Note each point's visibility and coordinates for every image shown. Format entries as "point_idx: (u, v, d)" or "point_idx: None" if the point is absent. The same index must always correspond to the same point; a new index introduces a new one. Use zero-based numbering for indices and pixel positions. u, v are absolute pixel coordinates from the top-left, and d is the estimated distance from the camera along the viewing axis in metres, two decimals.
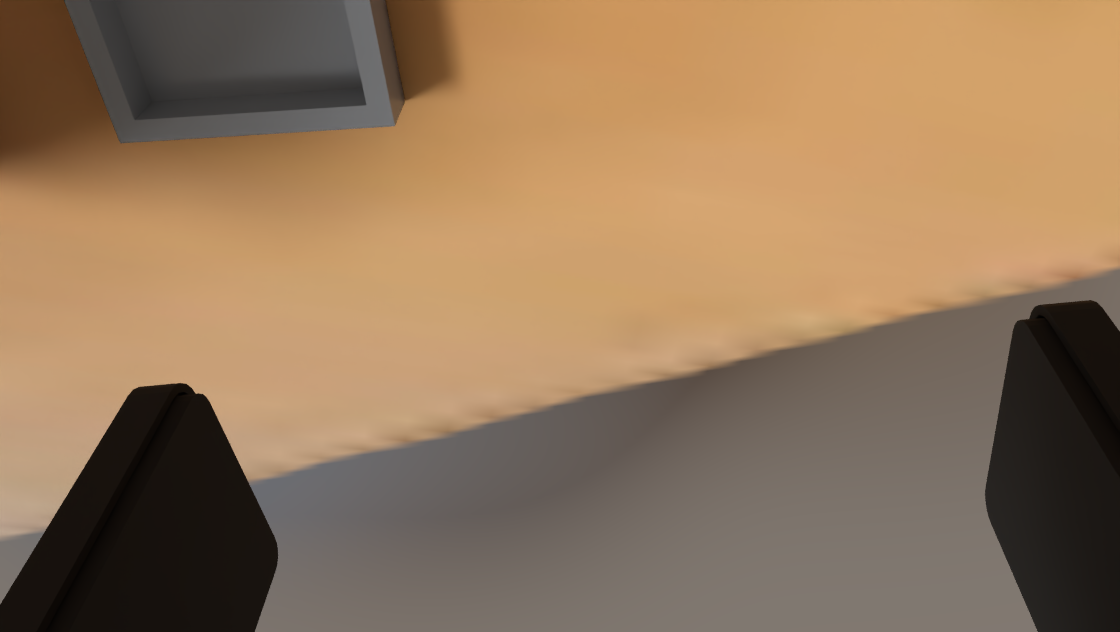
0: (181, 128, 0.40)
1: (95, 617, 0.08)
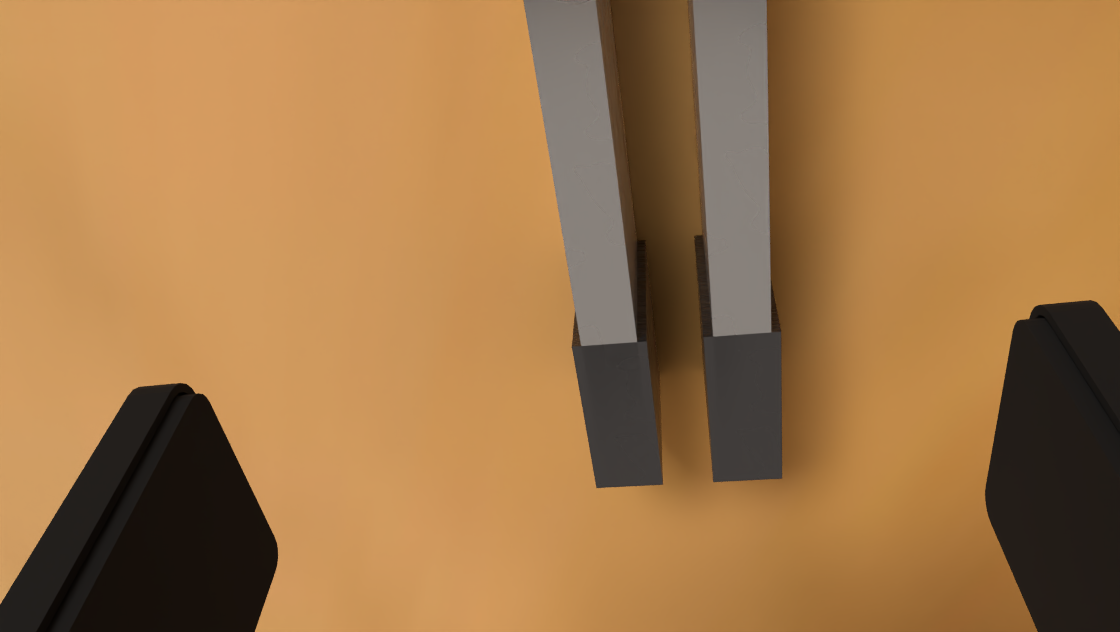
0: None
1: (94, 618, 0.08)
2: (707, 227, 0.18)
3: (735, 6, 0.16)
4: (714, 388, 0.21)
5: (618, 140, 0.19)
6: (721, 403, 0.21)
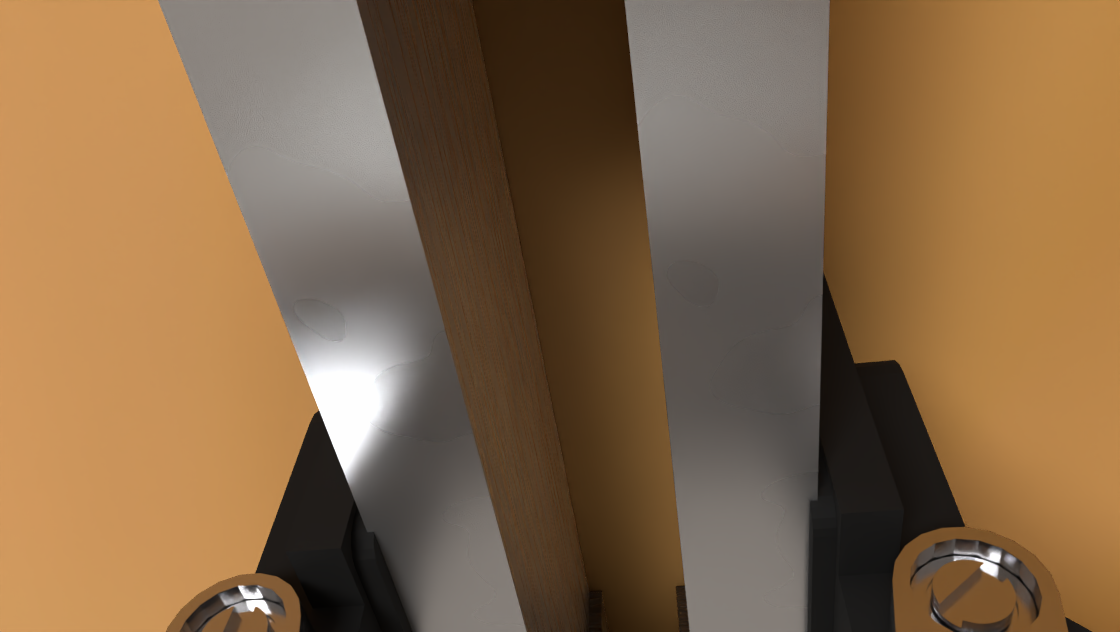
0: None
1: None
2: None
3: (755, 447, 0.08)
4: None
5: (544, 553, 0.11)
6: None
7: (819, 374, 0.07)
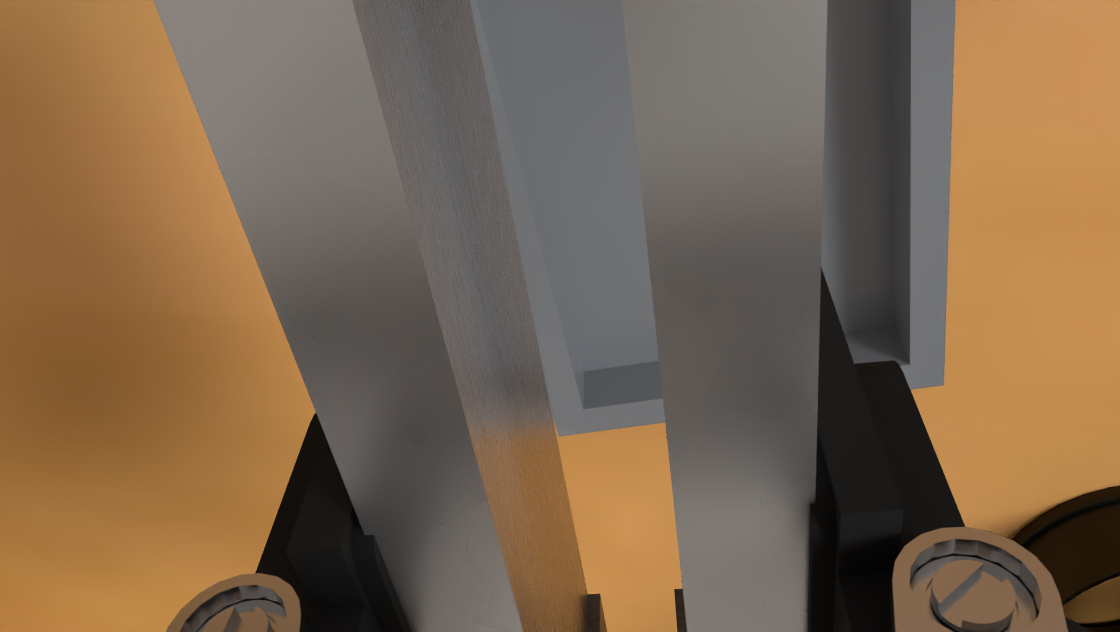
0: None
1: None
2: None
3: (752, 453, 0.08)
4: None
5: (542, 557, 0.11)
6: None
7: (817, 380, 0.07)
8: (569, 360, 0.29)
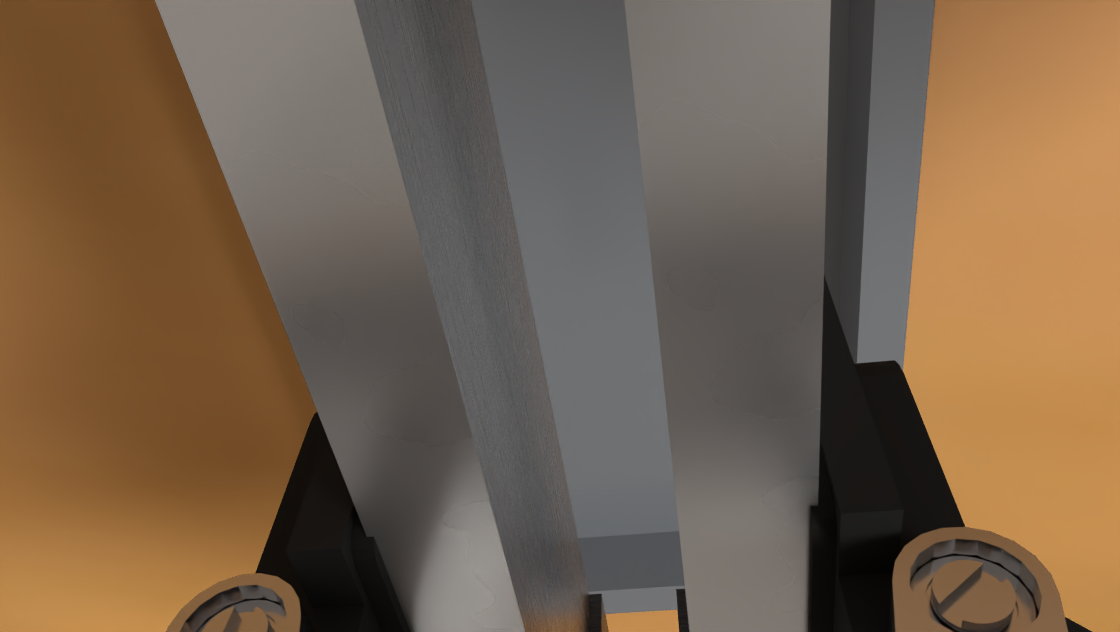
0: None
1: None
2: None
3: (755, 451, 0.08)
4: None
5: (544, 557, 0.11)
6: None
7: (820, 378, 0.07)
8: None
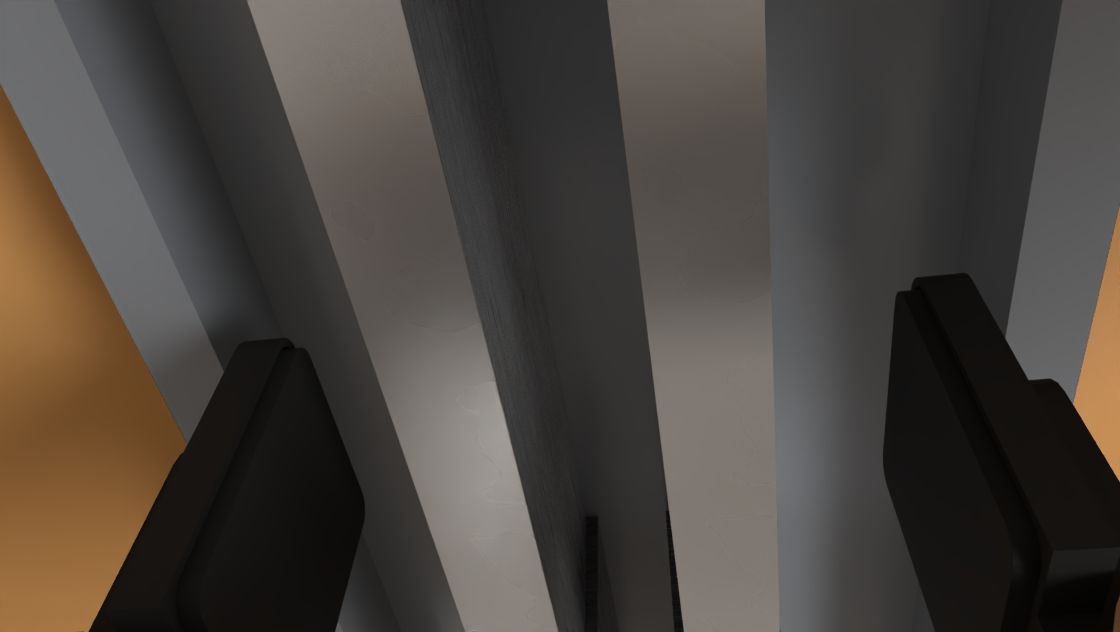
0: None
1: (230, 549, 0.09)
2: (682, 607, 0.12)
3: (719, 333, 0.09)
4: None
5: (544, 457, 0.12)
6: None
7: (770, 266, 0.09)
8: None
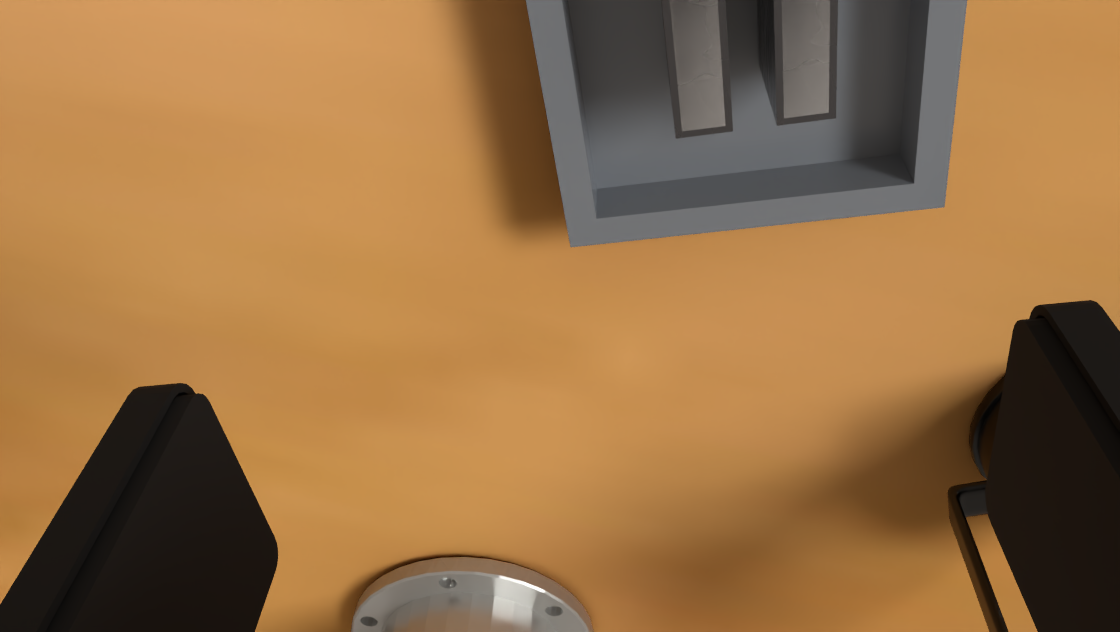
0: None
1: (96, 616, 0.08)
2: None
3: None
4: (780, 22, 0.24)
5: None
6: (785, 38, 0.25)
7: None
8: (586, 165, 0.29)
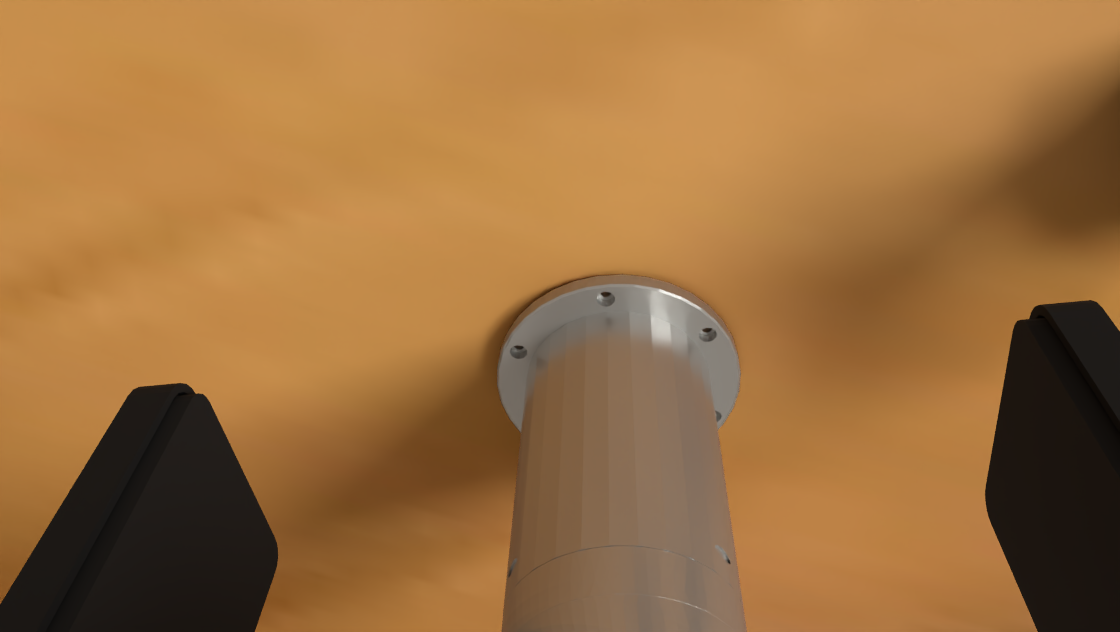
0: None
1: (96, 618, 0.08)
2: None
3: None
4: None
5: None
6: None
7: None
8: None
